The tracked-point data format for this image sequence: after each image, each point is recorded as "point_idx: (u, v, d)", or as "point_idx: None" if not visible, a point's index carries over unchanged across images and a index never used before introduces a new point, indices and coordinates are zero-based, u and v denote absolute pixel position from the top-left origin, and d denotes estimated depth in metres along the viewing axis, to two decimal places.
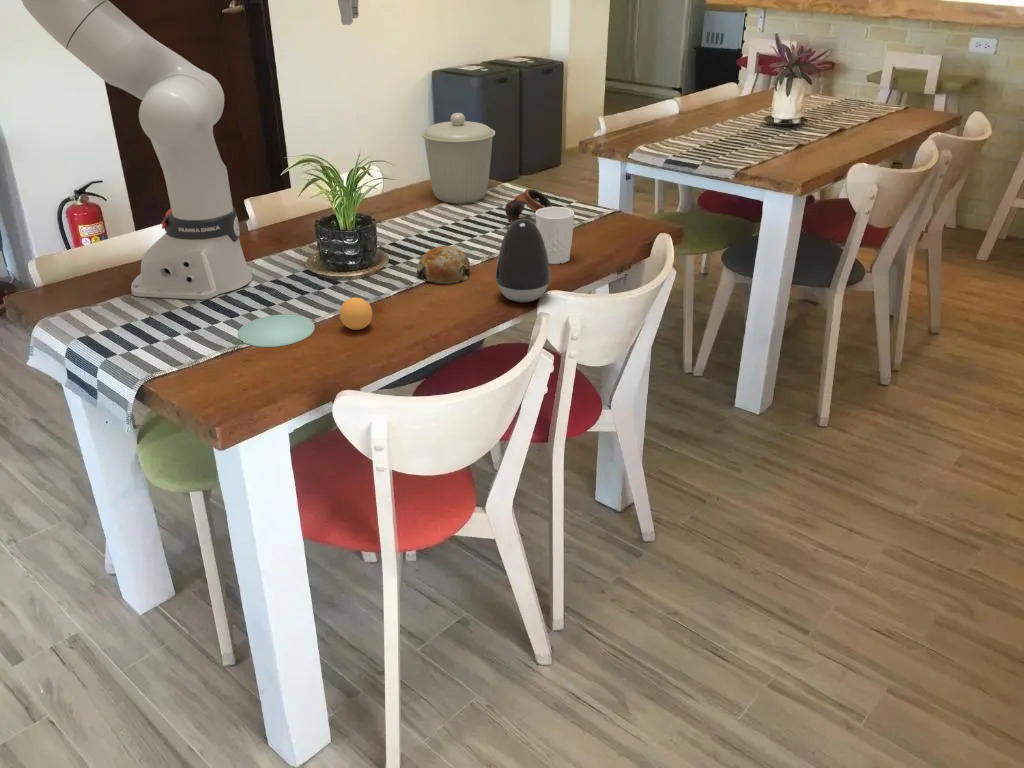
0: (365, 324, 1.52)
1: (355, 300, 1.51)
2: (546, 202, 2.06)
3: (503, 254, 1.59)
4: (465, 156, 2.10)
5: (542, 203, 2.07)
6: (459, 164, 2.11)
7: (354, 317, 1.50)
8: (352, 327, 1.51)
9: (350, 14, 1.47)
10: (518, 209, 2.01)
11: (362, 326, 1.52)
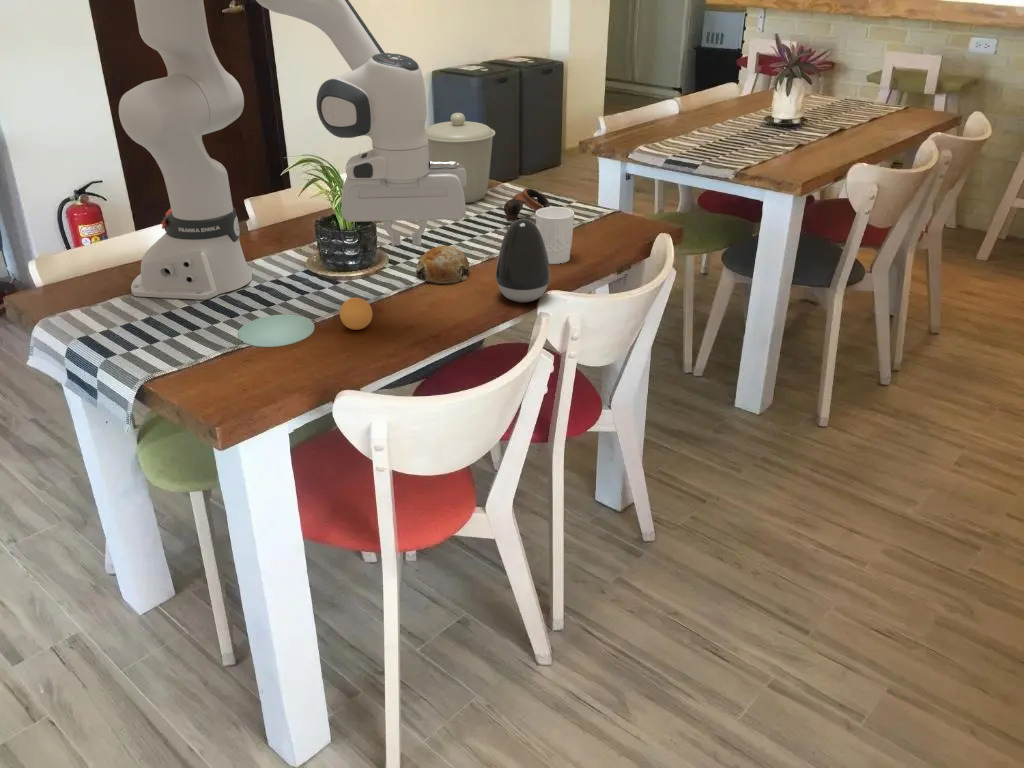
0: (365, 324, 1.52)
1: (355, 300, 1.51)
2: (544, 201, 2.06)
3: (503, 254, 1.59)
4: (465, 156, 2.10)
5: (540, 202, 2.08)
6: None
7: (354, 317, 1.50)
8: (352, 327, 1.51)
9: None
10: (517, 208, 2.02)
11: (362, 326, 1.52)
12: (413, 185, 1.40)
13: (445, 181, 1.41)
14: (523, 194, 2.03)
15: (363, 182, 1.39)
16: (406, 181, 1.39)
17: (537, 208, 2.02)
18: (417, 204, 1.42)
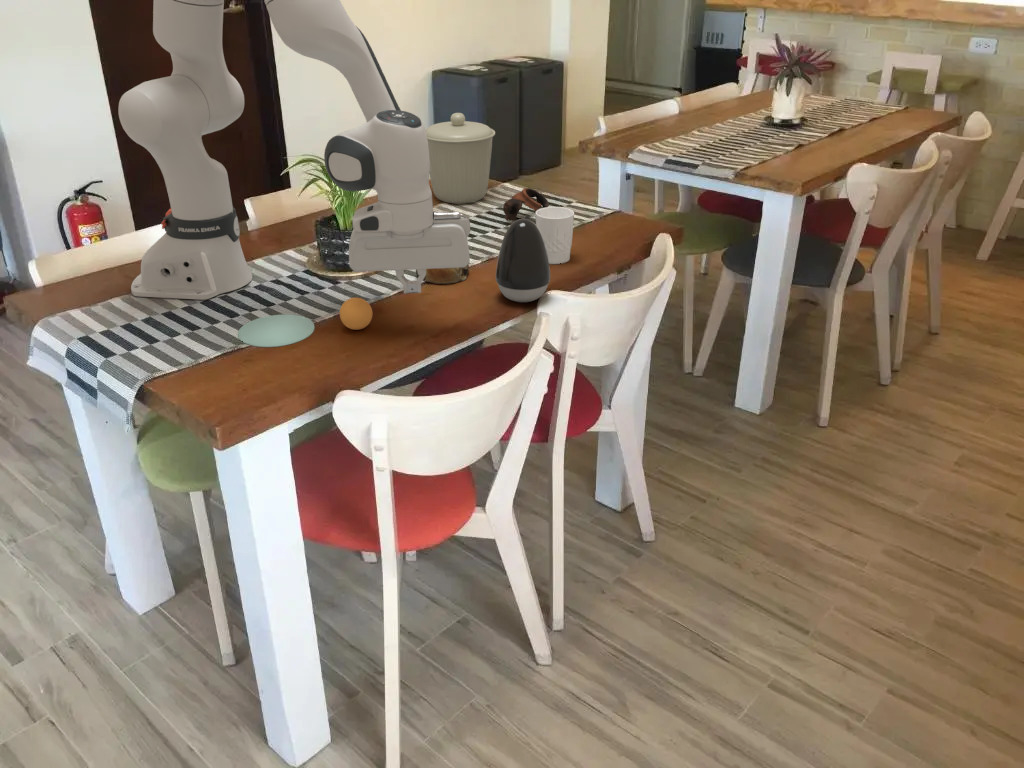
0: (365, 324, 1.52)
1: (355, 300, 1.51)
2: (543, 200, 2.07)
3: (503, 254, 1.59)
4: (465, 156, 2.10)
5: (539, 201, 2.09)
6: (459, 164, 2.11)
7: (354, 317, 1.50)
8: (352, 327, 1.51)
9: (403, 285, 1.50)
10: (516, 208, 2.02)
11: (362, 326, 1.52)
12: (418, 236, 1.44)
13: (450, 231, 1.45)
14: (522, 194, 2.03)
15: (370, 234, 1.43)
16: (411, 232, 1.43)
17: (536, 207, 2.02)
18: (422, 253, 1.46)
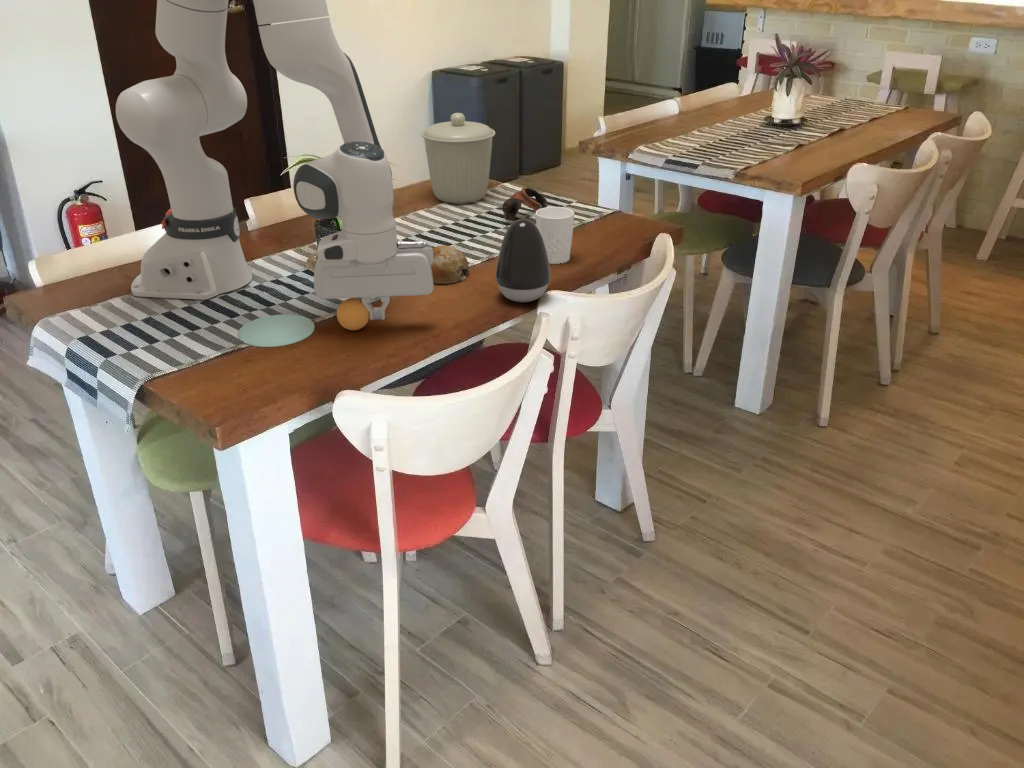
0: (363, 323, 1.51)
1: (349, 301, 1.51)
2: (542, 200, 2.07)
3: (503, 254, 1.59)
4: (465, 156, 2.10)
5: (538, 201, 2.09)
6: (459, 164, 2.11)
7: (350, 318, 1.50)
8: (351, 328, 1.51)
9: (369, 311, 1.52)
10: (515, 207, 2.03)
11: (360, 325, 1.51)
12: (382, 265, 1.46)
13: (413, 260, 1.47)
14: (521, 193, 2.03)
15: (334, 263, 1.45)
16: (375, 261, 1.45)
17: (535, 207, 2.03)
18: (387, 281, 1.49)
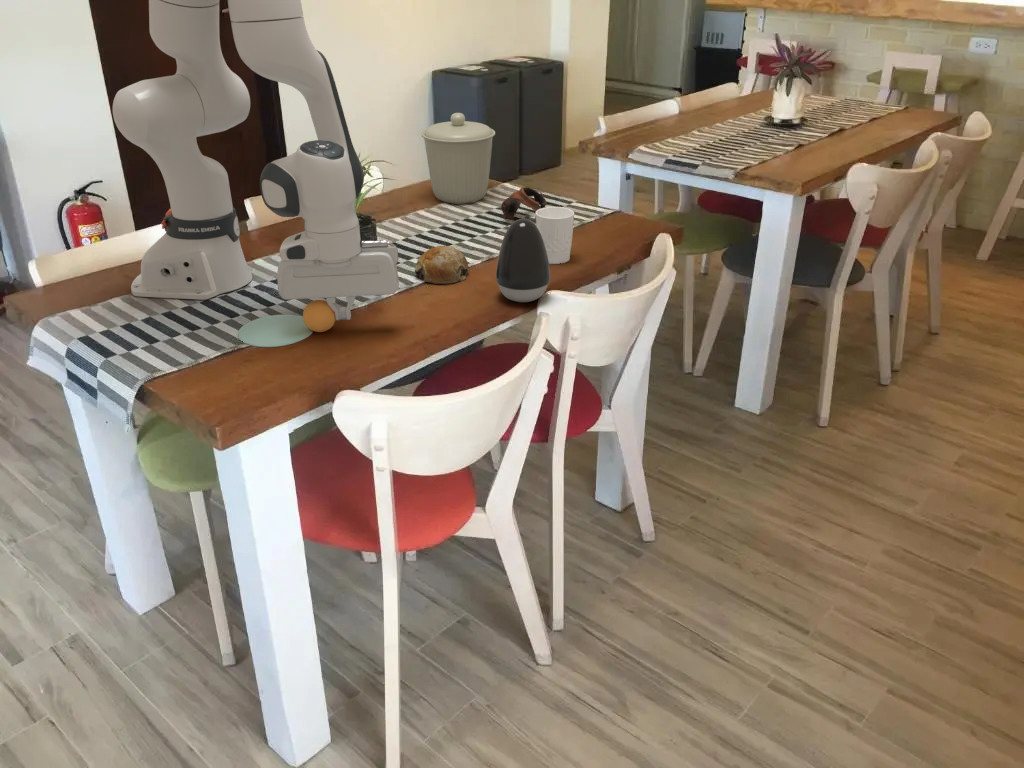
0: (328, 318, 1.50)
1: (305, 308, 1.50)
2: (541, 199, 2.08)
3: (503, 254, 1.59)
4: (465, 156, 2.10)
5: (537, 200, 2.09)
6: (459, 164, 2.11)
7: (313, 322, 1.49)
8: (323, 329, 1.51)
9: None
10: (514, 206, 2.03)
11: (328, 321, 1.50)
12: (345, 264, 1.45)
13: (377, 259, 1.46)
14: (520, 192, 2.04)
15: (297, 262, 1.44)
16: (338, 261, 1.44)
17: (534, 206, 2.03)
18: (351, 281, 1.48)
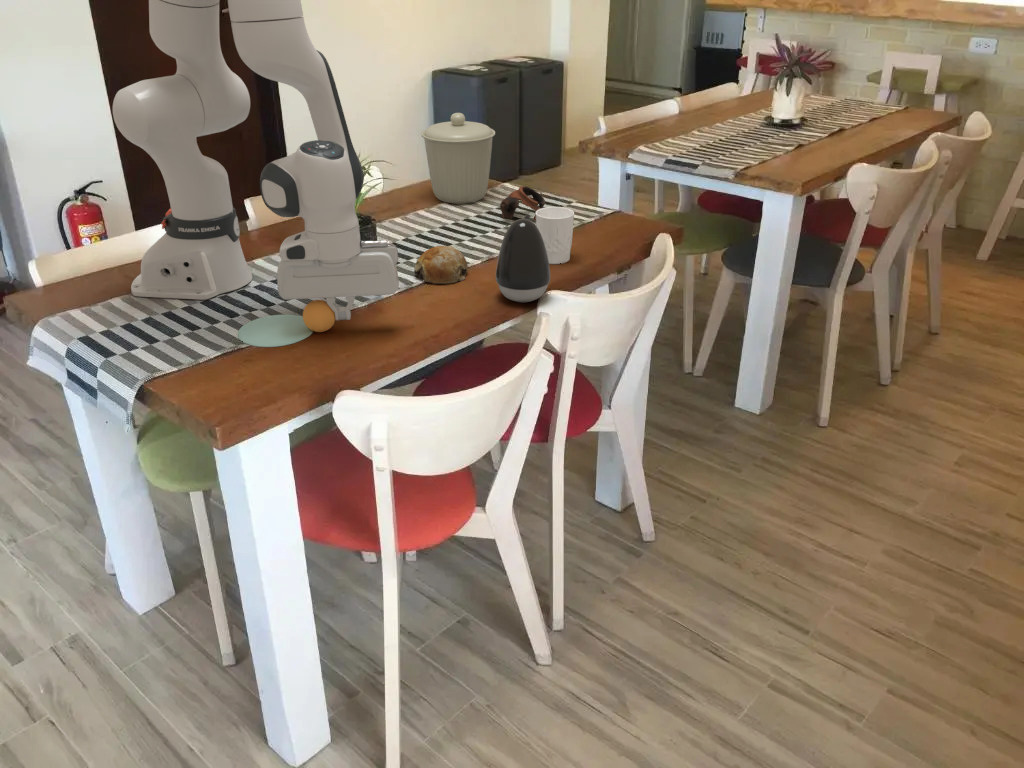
0: (328, 318, 1.50)
1: (305, 308, 1.50)
2: (540, 198, 2.08)
3: (503, 254, 1.59)
4: (465, 156, 2.10)
5: (535, 200, 2.10)
6: (459, 164, 2.11)
7: (313, 322, 1.49)
8: (323, 329, 1.51)
9: None
10: (513, 206, 2.03)
11: (328, 321, 1.50)
12: (345, 264, 1.45)
13: (377, 259, 1.46)
14: (519, 192, 2.04)
15: (297, 262, 1.44)
16: (338, 261, 1.44)
17: (533, 205, 2.04)
18: (351, 281, 1.48)
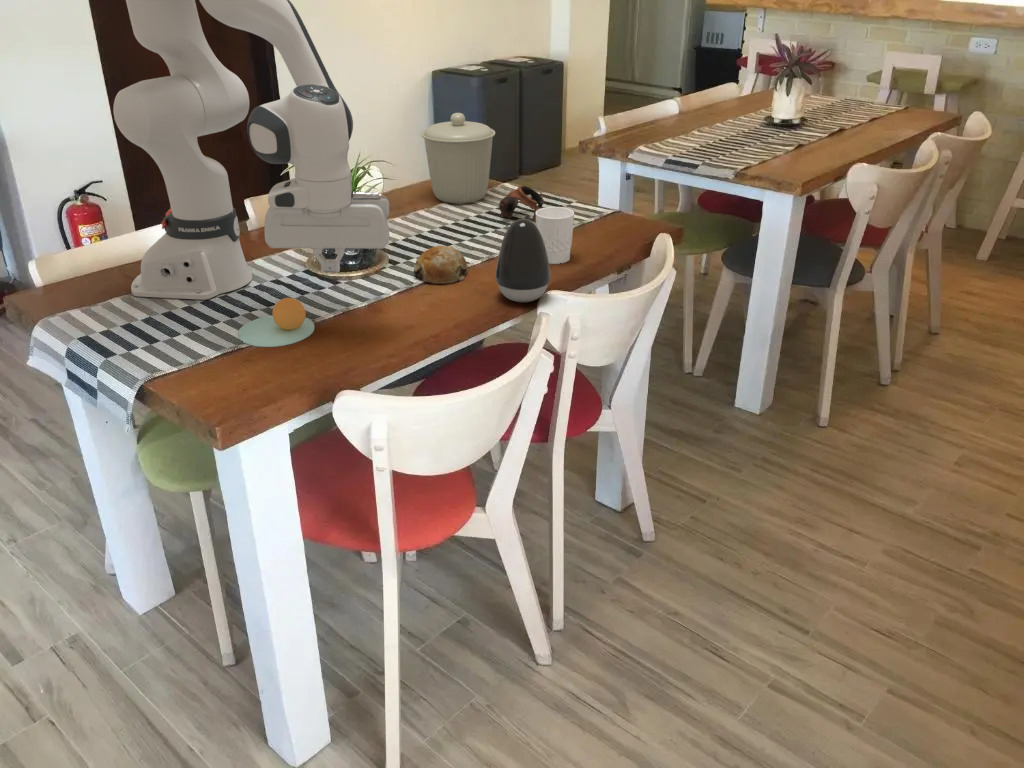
0: (278, 306, 1.50)
1: None
2: (538, 198, 2.09)
3: (503, 254, 1.59)
4: (465, 156, 2.10)
5: (534, 199, 2.10)
6: (459, 164, 2.11)
7: (282, 320, 1.50)
8: (289, 309, 1.50)
9: None
10: (512, 205, 2.04)
11: (280, 306, 1.50)
12: (335, 215, 1.42)
13: (368, 211, 1.43)
14: (518, 191, 2.05)
15: (285, 210, 1.41)
16: (328, 211, 1.41)
17: (532, 205, 2.04)
18: (340, 232, 1.44)
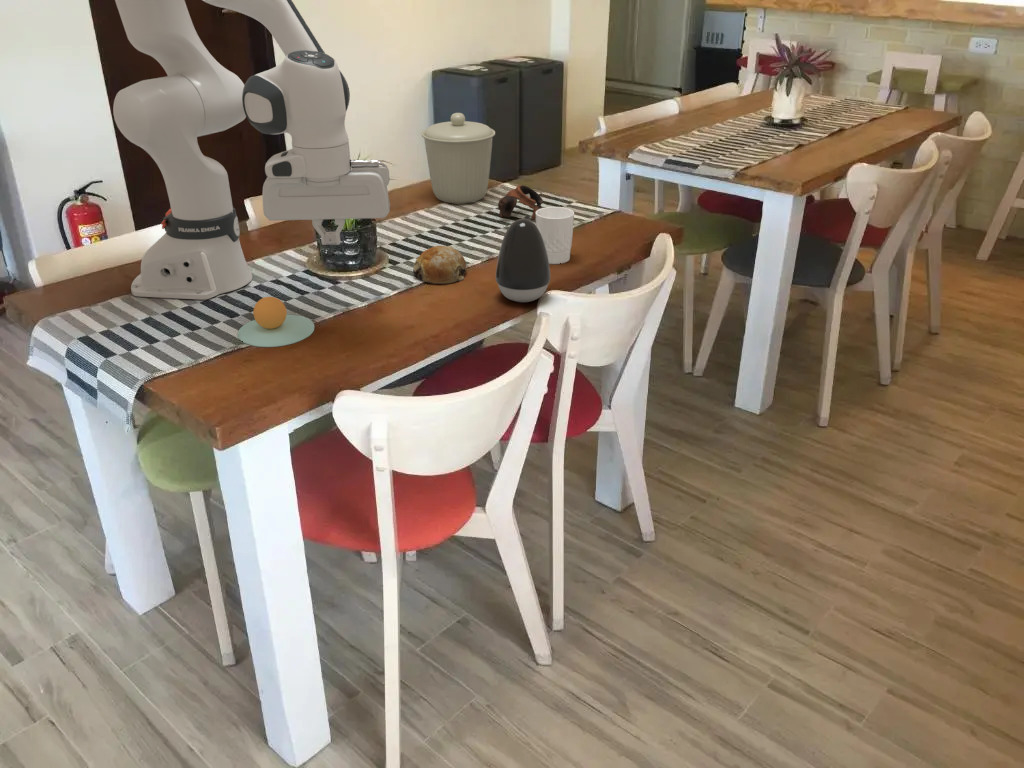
0: (254, 317, 1.52)
1: (279, 324, 1.53)
2: (537, 197, 2.09)
3: (503, 254, 1.59)
4: (465, 156, 2.10)
5: (533, 198, 2.11)
6: (459, 164, 2.11)
7: (263, 319, 1.51)
8: (257, 308, 1.51)
9: (321, 236, 1.45)
10: (511, 204, 2.04)
11: (254, 315, 1.52)
12: (334, 184, 1.39)
13: (367, 179, 1.40)
14: (517, 191, 2.05)
15: (283, 180, 1.38)
16: (326, 179, 1.38)
17: (531, 204, 2.05)
18: (339, 202, 1.41)
